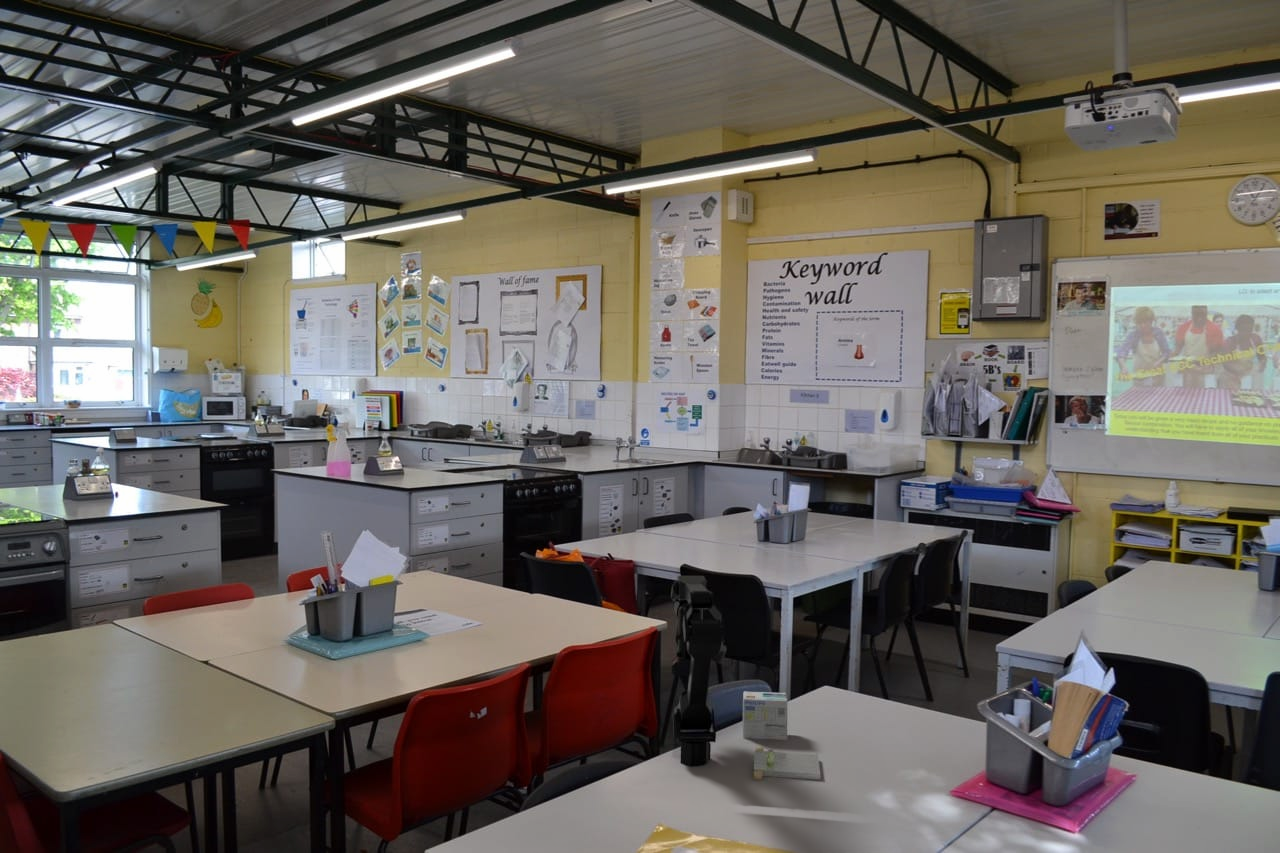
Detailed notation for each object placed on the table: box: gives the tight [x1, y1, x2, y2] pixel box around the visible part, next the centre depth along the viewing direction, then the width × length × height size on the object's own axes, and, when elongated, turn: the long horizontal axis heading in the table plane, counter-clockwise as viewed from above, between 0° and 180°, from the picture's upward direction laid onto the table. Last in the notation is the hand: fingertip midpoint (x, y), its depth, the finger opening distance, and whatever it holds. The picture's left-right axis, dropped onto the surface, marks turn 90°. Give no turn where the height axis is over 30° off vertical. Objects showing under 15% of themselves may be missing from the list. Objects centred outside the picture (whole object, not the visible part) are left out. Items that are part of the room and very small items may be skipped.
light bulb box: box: [742, 690, 788, 741], centre depth 219 cm, size 11×7×11 cm, turn 84°
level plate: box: [753, 749, 821, 781], centre depth 199 cm, size 14×11×3 cm
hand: (689, 694), depth 214 cm, fingers closed
